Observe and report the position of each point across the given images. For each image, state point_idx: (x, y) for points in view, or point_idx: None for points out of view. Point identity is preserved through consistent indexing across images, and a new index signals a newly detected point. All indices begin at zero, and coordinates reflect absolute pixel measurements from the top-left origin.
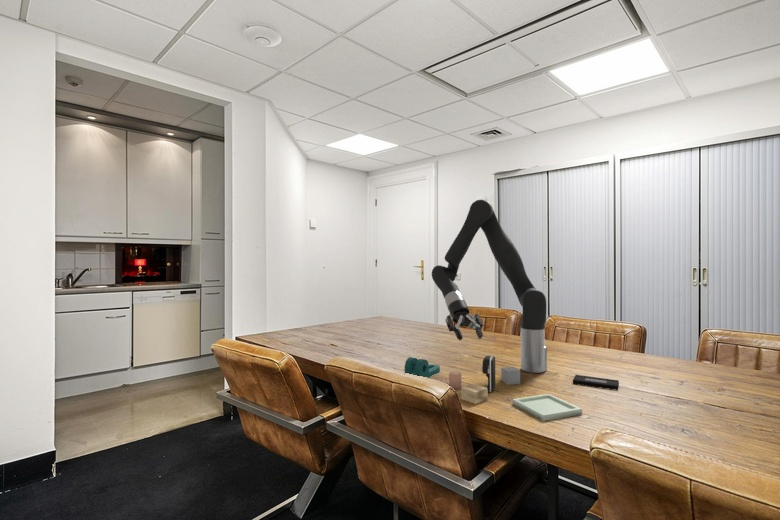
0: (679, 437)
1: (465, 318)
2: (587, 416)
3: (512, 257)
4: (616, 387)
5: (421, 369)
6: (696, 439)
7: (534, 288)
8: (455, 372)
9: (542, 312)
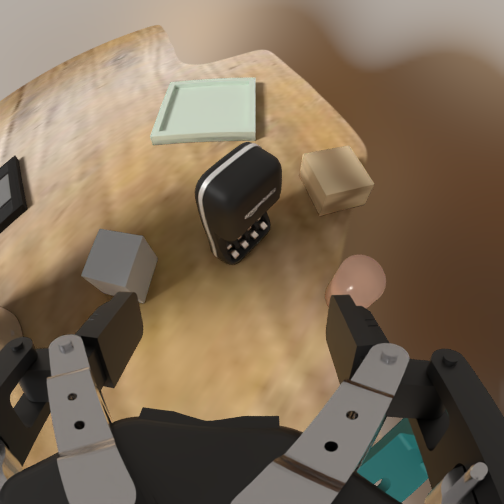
0: (142, 50)
1: (161, 498)
2: None
3: None
4: (16, 158)
5: None
6: (134, 48)
7: None
8: (356, 291)
9: None
